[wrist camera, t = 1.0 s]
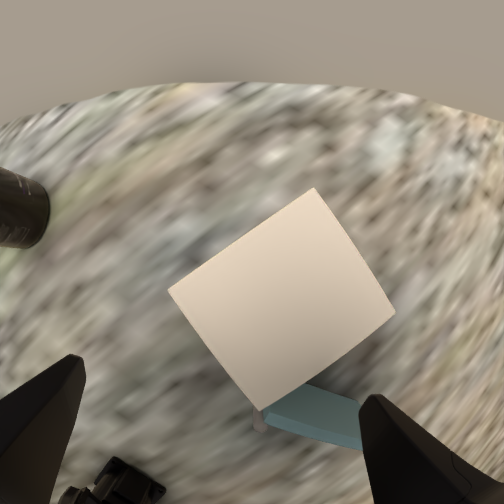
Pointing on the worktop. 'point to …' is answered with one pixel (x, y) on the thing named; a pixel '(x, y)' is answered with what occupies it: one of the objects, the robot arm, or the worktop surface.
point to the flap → (314, 416)
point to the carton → (284, 300)
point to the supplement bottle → (21, 210)
